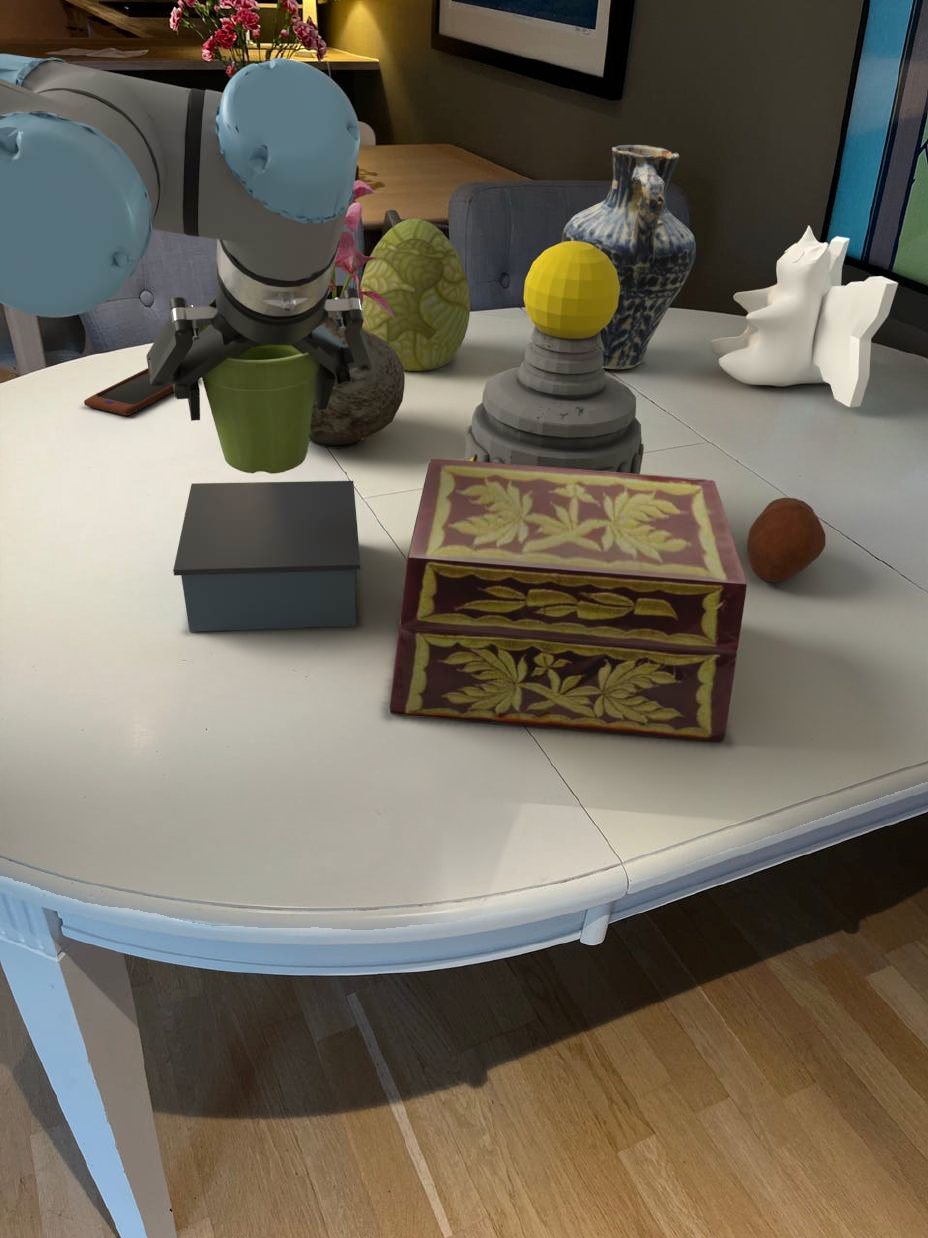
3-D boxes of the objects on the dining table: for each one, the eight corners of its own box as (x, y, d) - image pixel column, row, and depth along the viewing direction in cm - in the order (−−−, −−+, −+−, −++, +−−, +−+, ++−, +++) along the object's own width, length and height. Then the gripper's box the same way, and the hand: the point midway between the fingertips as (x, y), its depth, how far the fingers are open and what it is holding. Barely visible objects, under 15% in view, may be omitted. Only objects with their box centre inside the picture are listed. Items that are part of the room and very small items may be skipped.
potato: (813, 547, 104) (833, 482, 100) (816, 604, 95) (839, 535, 91) (742, 535, 106) (759, 470, 101) (739, 590, 97) (757, 521, 92)
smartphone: (81, 399, 124) (155, 363, 136) (83, 406, 125) (156, 369, 136) (126, 410, 122) (197, 372, 133) (127, 417, 123) (197, 378, 134)
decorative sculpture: (412, 387, 136) (414, 240, 124) (337, 355, 144) (333, 215, 133) (489, 361, 146) (498, 223, 134) (414, 332, 154) (417, 200, 143)
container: (183, 635, 86) (173, 570, 82) (199, 543, 99) (191, 483, 95) (361, 628, 88) (360, 564, 84) (354, 539, 101) (353, 480, 97)
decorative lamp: (437, 495, 110) (448, 220, 92) (586, 477, 115) (622, 214, 98) (495, 583, 95) (520, 276, 78) (661, 557, 101) (719, 266, 84)
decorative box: (695, 613, 93) (728, 474, 84) (724, 744, 78) (768, 591, 69) (414, 591, 94) (417, 450, 85) (388, 715, 78) (389, 560, 70)
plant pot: (171, 474, 82) (153, 345, 75) (238, 422, 91) (227, 303, 84) (298, 500, 79) (290, 368, 73) (354, 443, 88) (351, 322, 82)
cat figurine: (696, 347, 156) (723, 208, 143) (826, 355, 155) (865, 217, 143) (723, 408, 135) (758, 252, 123) (874, 417, 135) (923, 263, 123)
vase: (245, 450, 117) (221, 186, 99) (309, 399, 130) (298, 159, 113) (372, 476, 113) (370, 206, 95) (424, 421, 127) (431, 176, 109)
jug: (536, 338, 155) (556, 133, 138) (649, 337, 158) (682, 137, 141) (570, 387, 138) (597, 162, 121) (696, 385, 142) (740, 165, 124)
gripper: (101, 332, 60) (128, 453, 81) (448, 311, 67) (390, 428, 88) (84, 222, 61) (116, 370, 82) (428, 213, 68) (375, 352, 89)
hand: (257, 400), depth 85 cm, fingers closed on plant pot, 10 cm apart
